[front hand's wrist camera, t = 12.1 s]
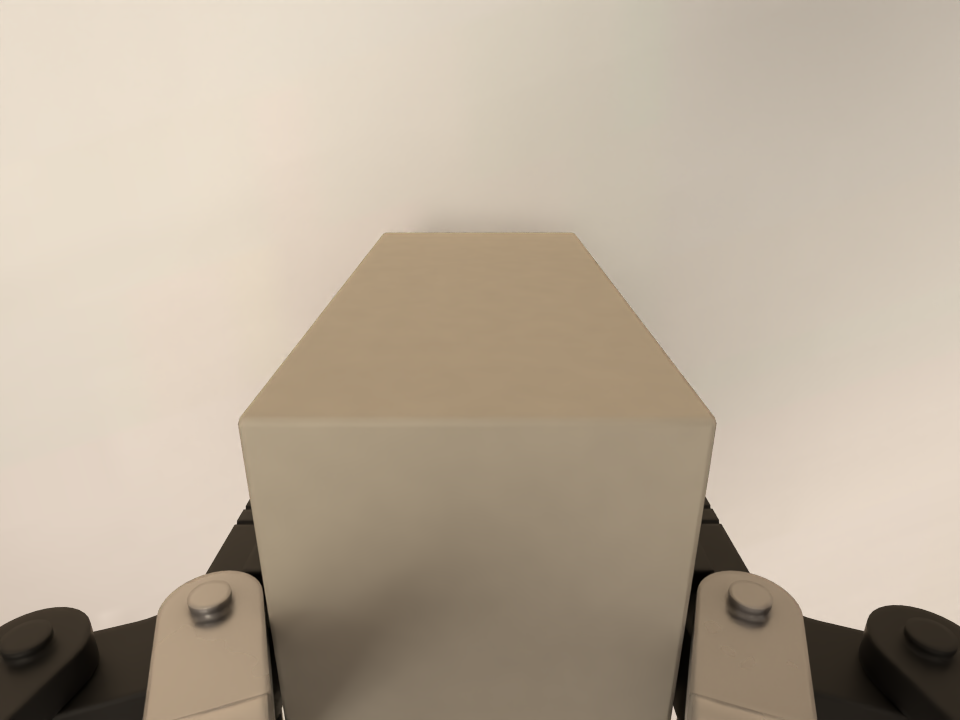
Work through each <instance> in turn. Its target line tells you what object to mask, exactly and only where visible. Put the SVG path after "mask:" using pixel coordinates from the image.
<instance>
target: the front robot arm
mask: <svg viewBox="0 0 960 720" xmlns="http://www.w3.org/2000/svg"><path fill="white" fill-rule="evenodd" d="M282 706H283V702H282V696H281V690H280V683H279V677H278V671H277V665H276V658H275V652H274V646H273V640H272V633H271V627H270V621H269V615H268V608H267V602H266V596H265V589H264V583H263V577H262V571H261V564H260V558H259V552H258V546H257V539H256V533H255V527H254V521H253V514H252V508H251V502H250V500H249V502H248V503H247V505H246V510H243V512H242V513H241V515H240V517H239V518H238V520H237V525H234V527H233V529H232V530H231V532H230V534H229V535H228V537H227V539H226V541H225V542H224V544H223V546H222V547H221V549H220V551H219V552H218V554H217V556H216V557H215V559H214V561H213V563H212V564H211V566H210V568H209V569H208V571H207V573H206V574H205V575H202V576H199V577H197V578H194V579H192V580H190V581H188V582H186V583H185V584H183V585H182V586H180V587H178V588H177V589H176V590H175V591H173V592H172V593H171V594H170V595H169V596H168V597H167V598H166V599H165V601H164V602H163V603H162V605H161V607H160V609H159V611H158V615H156V616H153V617H151V618H148V619H145V620H141V621H138V622H134V623H129V624H125V625H121V626H116V627H112V628H108V629H104V630H99V631H95V632H93V630H92V626H91V623H90V620H89V618H88V616H87V615H86V614H85V613H83V612H82V611H80V610H77V609H74V608H68V607H55V608H47V609H43V610H38V611H35V612H32V613H29V614H26V615H23V616H21V617H18V618H16V619H14V620H12V621H10V622H8V623H6V624H4V625H3V626H1V627H0V720H283V714H282ZM673 706H674V709H675V712H676V715H677V720H960V626H958V625H957V624H955V623H953V622H952V621H950V620H948V619H946V618H944V617H942V616H939V615H937V614H934V613H932V612H929V611H926V610H923V609H919V608H915V607H910V606H903V605H890V606H884V607H880V608H878V609H876V610H874V611H873V612H872V613H871V614H870V615H869V618H868V620H867V623H866V627H865V630H864V631H861V630H856V629H852V628H848V627H844V626H839V625H835V624H831V623H826V622H822V621H818V620H814V619H811V618H807V617H805V616H803V615H802V611H801V609H800V607H799V605H798V603H797V602H796V601H795V599H794V598H793V597H792V596H791V595H790V594H789V593H788V592H787V591H785V590H784V589H783V588H782V587H780V586H778V585H777V584H775V583H774V582H772V581H770V580H768V579H766V578H763V577H761V576H758V575H755V574H751V573H749V571H748V569H747V568H746V566H745V564H744V562H743V561H742V559H741V557H740V555H739V554H738V552H737V550H736V549H735V547H734V545H733V543H732V542H731V540H730V538H729V537H728V535H727V533H726V531H725V530H724V528H723V526H722V524H719V519H718V518H717V516H716V514H715V512H714V511H713V509H711V508H710V504H709V502H708V500H707V499H706V497H705V501H704V508H703V514H702V520H701V527H700V533H699V540H698V546H697V553H696V559H695V566H694V572H693V579H692V585H691V592H690V598H689V605H688V611H687V617H686V624H685V630H684V637H683V643H682V650H681V656H680V663H679V669H678V676H677V682H676V689H675V695H674V702H673Z"/></svg>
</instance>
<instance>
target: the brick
mask: <svg viewBox="0 0 960 720" xmlns="http://www.w3.org/2000/svg"><path fill="white" fill-rule="evenodd" d="M238 427H239V433H240V439H241V445H242V452H243V458H244V464H245V470H246V477H247V483H248V489H249V496H250V502H251V508H252V514H253V521H254V527H255V533H256V539H257V546H258V552H259V558H260V564H261V571H262V577H263V583H264V589H265V596H266V602H267V608H268V615H269V621H270V627H271V633H272V640H273V646H274V652H275V658H276V665H277V671H278V677H279V683H280V690H281V696H282V702H283V709H284V715H285V720H671V714H672V708H673V702H674V695H675V689H676V682H677V676H678V669H679V663H680V656H681V650H682V643H683V637H684V630H685V624H686V617H687V611H688V605H689V598H690V592H691V585H692V579H693V572H694V566H695V559H696V553H697V546H698V540H699V533H700V527H701V520H702V514H703V508H704V501H705V495H706V488H707V482H708V475H709V469H710V462H711V456H712V449H713V443H714V436H715V430H716V420H715V417H714V416H713V415H712V413H711V412H710V411H709V409H708V408H707V407H706V406H705V404H704V403H703V402H702V400H701V399H700V398H699V396H698V395H697V394H696V392H695V391H694V390H693V388H692V387H691V386H690V385H689V383H688V382H687V381H686V379H685V378H684V377H683V375H682V374H681V373H680V371H679V370H678V369H677V367H676V366H675V365H674V364H673V362H672V361H671V360H670V358H669V357H668V356H667V354H666V353H665V352H664V350H663V349H662V348H661V346H660V345H659V344H658V343H657V341H656V340H655V339H654V337H653V336H652V335H651V333H650V332H649V331H648V329H647V328H646V327H645V325H644V324H643V323H642V322H641V320H640V319H639V318H638V316H637V315H636V314H635V312H634V311H633V310H632V308H631V307H630V306H629V304H628V303H627V302H626V301H625V299H624V298H623V297H622V295H621V294H620V293H619V291H618V290H617V289H616V287H615V286H614V285H613V283H612V282H611V281H610V280H609V278H608V277H607V276H606V274H605V273H604V272H603V270H602V269H601V268H600V266H599V265H598V264H597V263H596V261H595V260H594V259H593V257H592V256H591V255H590V253H589V252H588V251H587V249H586V248H585V247H584V245H583V244H582V243H581V242H580V240H579V239H578V238H577V236H576V235H575V234H574V233H384V234H383V235H382V236H381V238H380V239H379V240H378V241H377V243H376V244H375V245H374V247H373V248H372V249H371V250H370V252H369V253H368V254H367V256H366V257H365V258H364V259H363V261H362V262H361V263H360V265H359V266H358V267H357V268H356V270H355V271H354V272H353V273H352V275H351V276H350V277H349V279H348V280H347V281H346V282H345V284H344V285H343V286H342V288H341V289H340V290H339V291H338V293H337V294H336V295H335V297H334V298H333V299H332V300H331V302H330V303H329V304H328V306H327V307H326V308H325V309H324V311H323V312H322V313H321V314H320V316H319V317H318V318H317V320H316V321H315V322H314V323H313V325H312V326H311V327H310V329H309V330H308V331H307V332H306V334H305V335H304V336H303V338H302V339H301V340H300V341H299V343H298V344H297V345H296V347H295V348H294V349H293V350H292V352H291V353H290V354H289V355H288V357H287V358H286V359H285V361H284V362H283V363H282V364H281V366H280V367H279V368H278V370H277V371H276V372H275V373H274V375H273V376H272V377H271V379H270V380H269V381H268V382H267V384H266V385H265V386H264V388H263V389H262V390H261V391H260V393H259V394H258V395H257V396H256V398H255V399H254V400H253V402H252V403H251V404H250V405H249V407H248V408H247V409H246V411H245V412H244V413H243V414H242V416H241V417H240V419H239V423H238Z"/></svg>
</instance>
